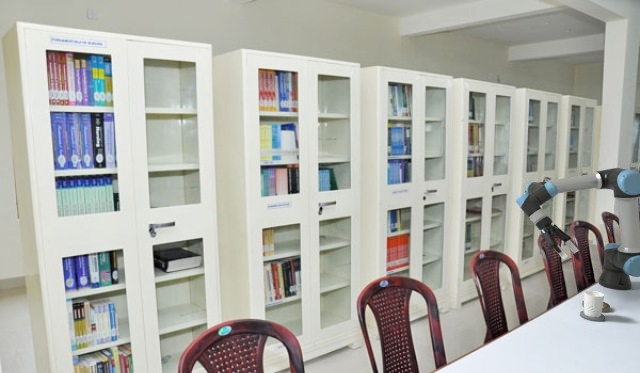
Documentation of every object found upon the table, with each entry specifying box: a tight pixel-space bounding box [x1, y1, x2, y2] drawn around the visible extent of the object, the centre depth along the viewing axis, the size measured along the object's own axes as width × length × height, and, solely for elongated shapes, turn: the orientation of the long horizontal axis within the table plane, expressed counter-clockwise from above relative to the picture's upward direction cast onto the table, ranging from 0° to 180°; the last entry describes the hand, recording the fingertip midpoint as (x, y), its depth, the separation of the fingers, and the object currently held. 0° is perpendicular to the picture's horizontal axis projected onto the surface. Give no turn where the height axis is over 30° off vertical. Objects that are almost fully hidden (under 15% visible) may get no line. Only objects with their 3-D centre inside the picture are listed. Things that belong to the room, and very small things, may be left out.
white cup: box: [583, 290, 605, 318], centre depth 212 cm, size 8×8×10 cm
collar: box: [581, 300, 611, 313], centre depth 223 cm, size 11×11×2 cm
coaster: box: [579, 310, 606, 322], centre depth 213 cm, size 10×10×1 cm
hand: (571, 255), depth 226 cm, fingers open, 13 cm apart
